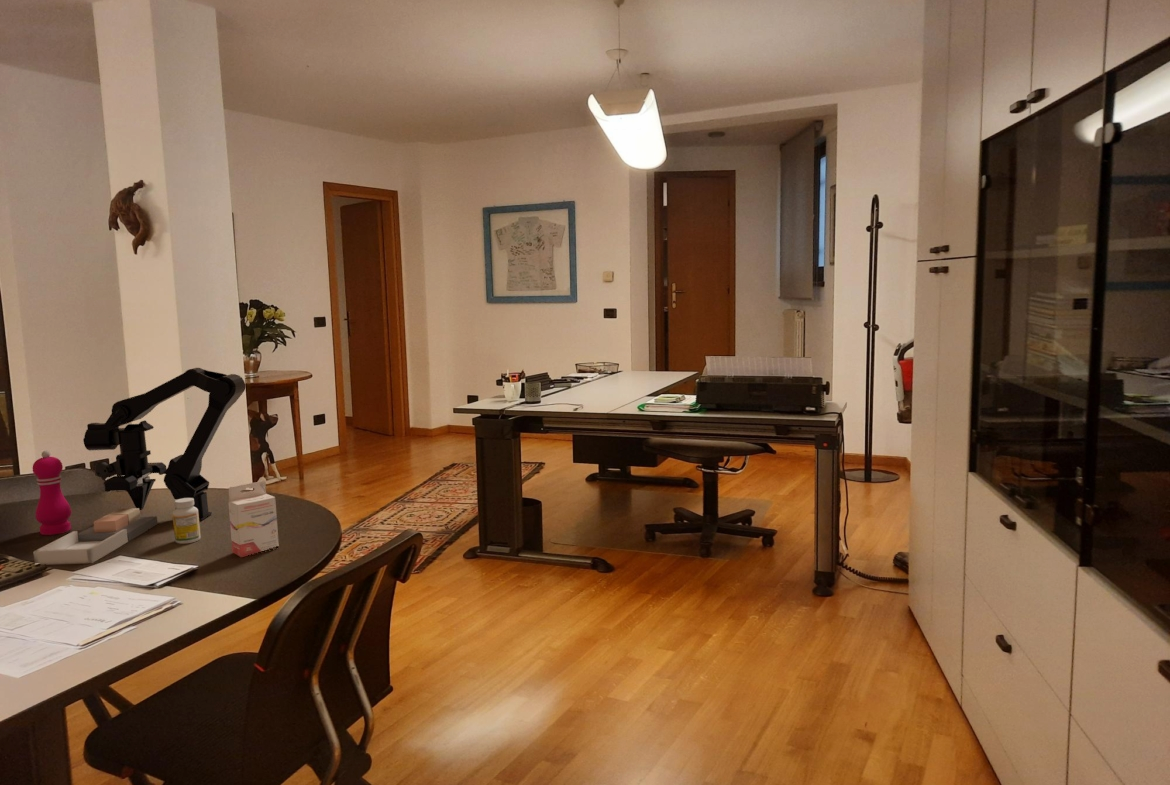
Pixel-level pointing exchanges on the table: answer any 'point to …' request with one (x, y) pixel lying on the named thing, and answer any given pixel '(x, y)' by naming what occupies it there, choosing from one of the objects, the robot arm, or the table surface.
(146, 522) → the board
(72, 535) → the box
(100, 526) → the terracotta tile
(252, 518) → the ink cartridge box
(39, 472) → the pepper mill
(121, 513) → the birch tile
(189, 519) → the supplement bottle
